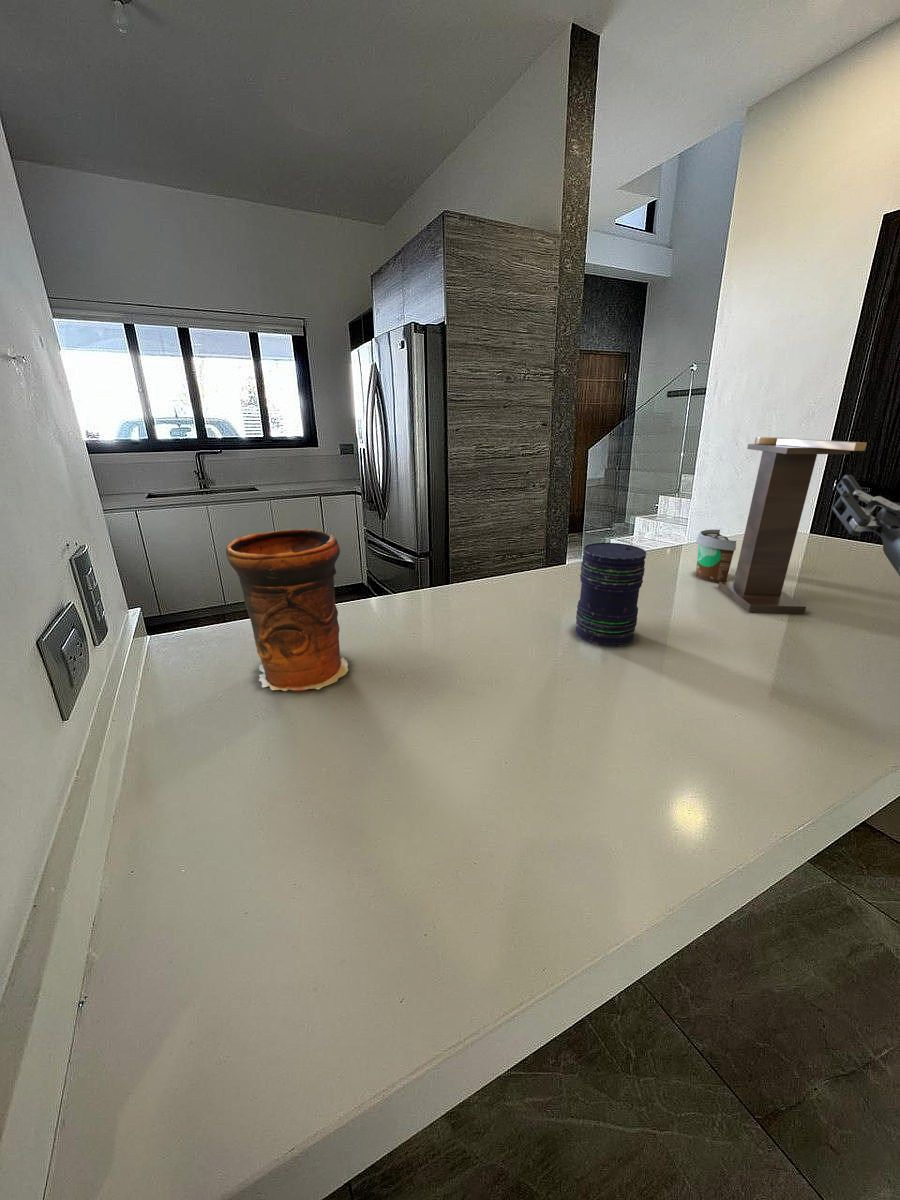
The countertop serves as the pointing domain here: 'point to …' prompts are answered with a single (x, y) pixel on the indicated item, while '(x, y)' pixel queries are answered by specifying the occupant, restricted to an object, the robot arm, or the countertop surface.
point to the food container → (714, 556)
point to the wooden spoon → (812, 443)
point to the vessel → (291, 605)
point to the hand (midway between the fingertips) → (876, 480)
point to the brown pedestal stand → (773, 528)
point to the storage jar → (609, 593)
